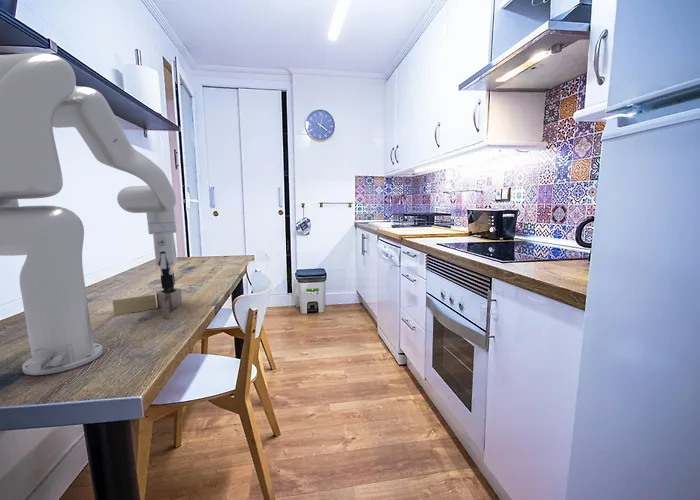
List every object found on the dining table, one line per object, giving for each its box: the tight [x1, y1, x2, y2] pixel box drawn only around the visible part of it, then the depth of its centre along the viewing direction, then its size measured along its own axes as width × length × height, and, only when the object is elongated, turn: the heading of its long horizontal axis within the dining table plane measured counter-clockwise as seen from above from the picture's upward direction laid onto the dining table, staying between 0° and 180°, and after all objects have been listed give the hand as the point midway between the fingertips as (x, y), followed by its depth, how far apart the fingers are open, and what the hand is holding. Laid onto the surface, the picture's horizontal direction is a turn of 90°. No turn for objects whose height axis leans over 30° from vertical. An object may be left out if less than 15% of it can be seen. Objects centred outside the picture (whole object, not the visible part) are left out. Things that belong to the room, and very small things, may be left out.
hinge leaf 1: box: [112, 293, 158, 316], centre depth 100 cm, size 11×1×4 cm, turn 122°
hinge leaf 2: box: [155, 287, 184, 320], centre depth 100 cm, size 17×7×5 cm, turn 23°
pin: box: [162, 263, 175, 293], centre depth 104 cm, size 4×4×12 cm
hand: (168, 286), depth 104 cm, fingers closed on pin, 3 cm apart
